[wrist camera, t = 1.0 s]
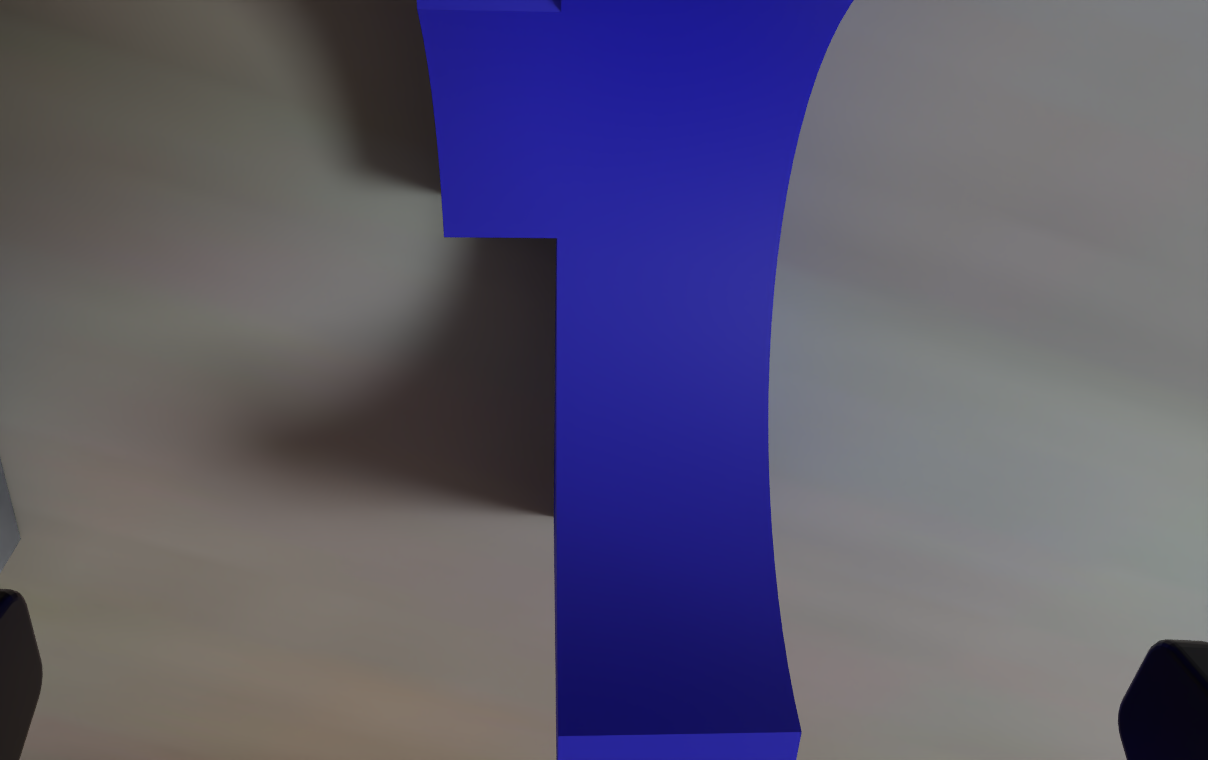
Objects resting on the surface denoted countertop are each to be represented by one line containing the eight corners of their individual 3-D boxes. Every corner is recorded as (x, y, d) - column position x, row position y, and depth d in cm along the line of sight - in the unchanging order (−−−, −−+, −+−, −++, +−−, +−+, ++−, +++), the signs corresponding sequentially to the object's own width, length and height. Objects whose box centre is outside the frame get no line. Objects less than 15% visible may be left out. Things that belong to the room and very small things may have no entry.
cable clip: (428, -298, 12) (350, -271, 7) (818, -284, 13) (995, -248, 8) (468, 511, 19) (440, 814, 14) (723, 509, 19) (786, 807, 14)
